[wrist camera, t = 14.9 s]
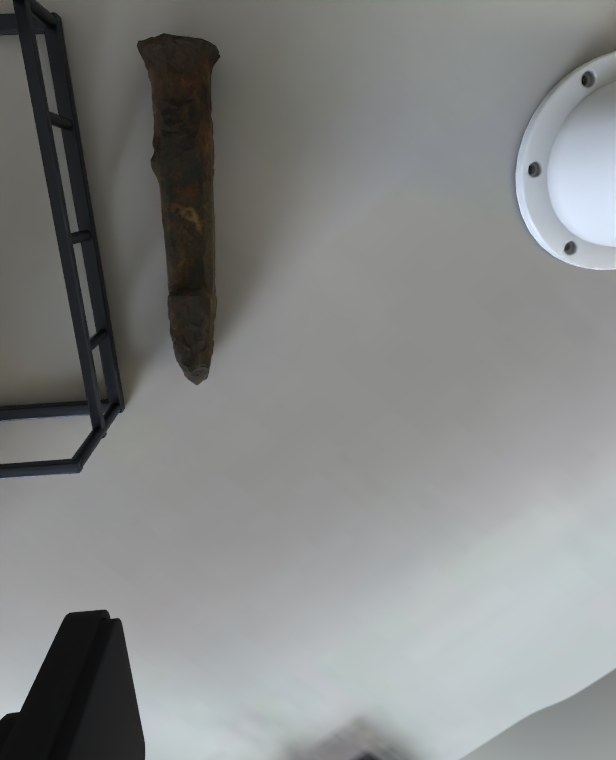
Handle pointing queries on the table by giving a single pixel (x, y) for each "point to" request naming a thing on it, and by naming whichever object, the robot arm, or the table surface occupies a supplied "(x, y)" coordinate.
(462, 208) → the table surface
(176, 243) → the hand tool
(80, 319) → the drying rack
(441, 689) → the table surface
